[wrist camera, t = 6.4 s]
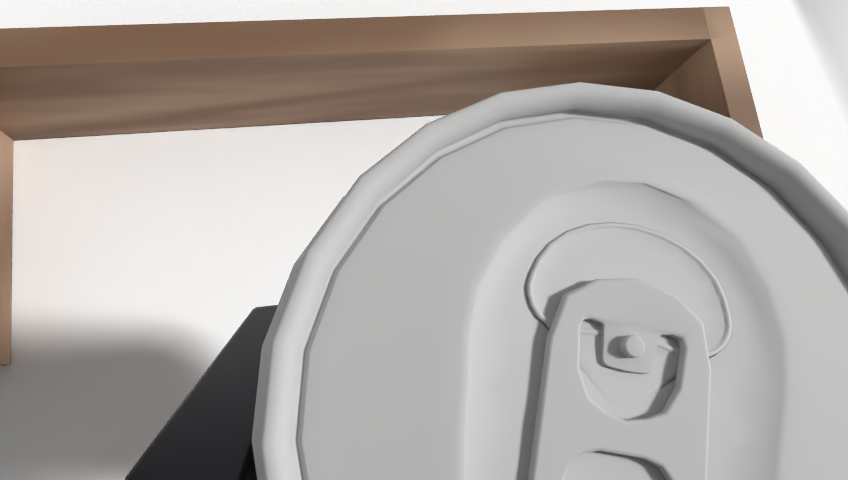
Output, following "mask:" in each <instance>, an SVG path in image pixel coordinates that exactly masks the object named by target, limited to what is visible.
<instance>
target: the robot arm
mask: <svg viewBox="0 0 848 480" xmlns="http://www.w3.org/2000/svg"><path fill="white" fill-rule="evenodd" d="M277 307H278V305H273V306H263V307H256V308H254V309H253V310H252V311H251V313H250V314H249V315H248V317H247V318H246V319H245V320H244V322H243V323H242V324H241V326H240V327H239V328H238V330H237V331H236V332H235V334H234V335H233V336H232V338H231V339H230V340H229V342H228V343H227V344H226V346H225V347H224V348H223V350H222V351H221V352H220V353H219V355H218V356H217V357H216V359H215V360H214V361H213V363H212V364H211V365H210V367H209V368H208V369H207V371H206V372H205V373H204V375H203V376H202V377H201V379H200V380H199V381H198V383H197V384H196V385H195V386H194V388H193V389H192V390H191V392H190V393H189V394H188V396H187V397H186V398H185V400H184V401H183V402H182V404H181V405H180V406H179V408H178V409H177V410H176V412H175V413H174V414H173V415H172V417H171V418H170V419H169V421H168V422H167V423H166V425H165V426H164V427H163V429H162V430H161V431H160V433H159V434H158V435H157V437H156V438H155V439H154V441H153V442H152V443H151V445H150V446H149V447H148V448H147V450H146V451H145V452H144V454H143V455H142V456H141V458H140V459H139V460H138V462H137V463H136V464H135V466H134V467H133V468H132V470H131V471H130V472H129V474H128V475H127V476H126V478H125V480H257V474H256V467H255V460H254V453H253V447H252V432H253V423H254V414H255V404H256V395H257V386H258V377H259V368H260V359H261V350H262V345H263V343H264V340H265V337H266V335H267V332H268V330H269V327H270V325H271V322H272V319H273V317H274V314H275V312H276V309H277Z"/></svg>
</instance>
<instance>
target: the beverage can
mask: <svg viewBox="0 0 848 480" xmlns="http://www.w3.org/2000/svg"><path fill="white" fill-rule="evenodd" d="M252 447H253V453H254V460H255V467H256V474H257V480H848V211H847V210H846V209H845V208H844V207H843V206H842V205H841V204H840V203H839V202H838V201H837V200H836V199H835V198H834V197H833V196H832V195H831V194H830V193H829V192H828V191H827V190H826V189H825V188H824V187H823V186H822V185H821V184H820V183H819V182H818V181H817V180H816V179H815V178H814V177H813V176H812V175H811V174H810V173H809V172H808V171H807V170H806V169H805V168H804V167H803V166H802V165H801V164H800V163H799V162H797V161H796V160H794V159H793V158H791V157H790V156H788V155H787V154H785V153H784V152H782V151H780V150H779V149H777V148H776V147H774V146H773V145H771V144H770V143H768V142H767V141H765V140H764V139H762V138H761V137H759V136H757V135H756V134H754V133H753V132H751V131H750V130H748V129H747V128H745V127H744V126H742V125H741V124H739V123H738V122H736V121H734V120H733V119H731V118H728V117H725V116H723V115H720V114H717V113H715V112H712V111H709V110H707V109H704V108H701V107H699V106H696V105H693V104H691V103H688V102H685V101H683V100H680V99H677V98H675V97H672V96H669V95H667V94H664V93H661V92H659V91H651V90H643V89H634V88H626V87H617V86H609V85H600V84H592V83H583V82H577V83H570V84H562V85H555V86H547V87H539V88H532V89H524V90H517V91H509V92H501V93H499V94H496V95H494V96H492V97H489V98H487V99H484V100H482V101H480V102H477V103H475V104H473V105H470V106H468V107H465V108H463V109H461V110H458V111H456V112H454V113H451V114H449V115H446V116H444V117H442V118H439V119H437V120H435V121H432V122H430V123H428V124H426V125H424V126H423V127H422V128H421V129H419V130H418V131H417V132H415V133H414V134H413V135H412V136H410V137H409V138H408V139H407V140H405V141H404V142H403V143H401V144H400V145H399V146H398V147H396V148H395V149H394V150H393V151H391V152H390V153H389V154H387V155H386V156H385V157H384V158H382V159H381V160H380V161H378V162H377V163H376V164H375V165H373V166H372V167H371V168H370V169H368V170H367V171H366V172H364V173H363V174H362V175H361V176H359V178H358V179H357V180H356V182H355V183H354V184H353V186H352V187H351V189H350V190H349V191H348V193H347V194H346V195H345V196H344V197H343V198H342V199H341V201H340V202H339V204H338V205H337V206H336V208H335V209H334V210H333V212H332V213H331V214H330V216H329V217H328V219H327V220H326V221H325V223H324V224H323V225H322V227H321V228H320V230H319V231H318V232H317V234H316V235H315V236H314V238H313V239H312V241H311V242H310V243H309V245H308V246H307V247H306V249H305V250H304V252H303V253H302V254H301V256H300V257H299V258H298V260H297V261H296V262H295V264H294V266H293V268H292V271H291V273H290V276H289V279H288V281H287V284H286V286H285V289H284V291H283V294H282V296H281V299H280V302H279V304H278V307H277V309H276V312H275V314H274V317H273V319H272V322H271V325H270V327H269V330H268V332H267V335H266V337H265V340H264V343H263V345H262V350H261V359H260V368H259V377H258V386H257V395H256V404H255V414H254V423H253V432H252Z"/></svg>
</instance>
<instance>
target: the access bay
mask: <svg viewBox="0 0 848 480" xmlns="http://www.w3.org/2000/svg"><path fill="white" fill-rule="evenodd" d="M577 82H583V83H592V84H600V85H609V86H617V87H626V88H634V89H643V90H651V91H659V92H661V93H664V94H667V95H669V96H672V97H675V98H677V99H680V100H683V101H685V102H688V103H691V104H693V105H696V106H699V107H701V108H704V109H707V110H709V111H712V112H715V113H717V114H720V115H723V116H725V117H728V118H731V119H733V120H734V121H736V122H738V123H739V124H741V125H742V126H744V127H745V128H747V129H748V130H750V131H751V132H753V133H754V134H756V135H757V136H759V137H761V138H762V139H763V136H762V132H761V128H760V124H759V120H758V116H757V113H756V109H755V105H754V101H753V97H752V93H751V89H750V86H749V82H748V78H747V74H746V70H745V66H744V63H743V59H742V55H741V51H740V47H739V43H738V40H737V36H736V32H735V28H734V24H733V20H732V16H731V13H730V9H729V7H700V8H667V9H634V10H601V11H568V12H535V13H502V14H469V15H436V16H403V17H370V18H337V19H304V20H271V21H238V22H205V23H172V24H139V25H106V26H73V27H40V28H7V29H0V365H9V364H11V293H12V205H13V140H27V139H44V138H61V137H78V136H94V135H111V134H128V133H145V132H162V131H179V130H196V129H213V128H230V127H247V126H263V125H280V124H297V123H314V122H331V121H348V120H365V119H382V118H399V117H416V116H433V115H449V114H451V113H454V112H456V111H458V110H461V109H463V108H465V107H468V106H470V105H473V104H475V103H477V102H480V101H482V100H484V99H487V98H489V97H492V96H494V95H496V94H499V93H501V92H509V91H517V90H524V89H532V88H539V87H547V86H555V85H562V84H570V83H577Z"/></svg>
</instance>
